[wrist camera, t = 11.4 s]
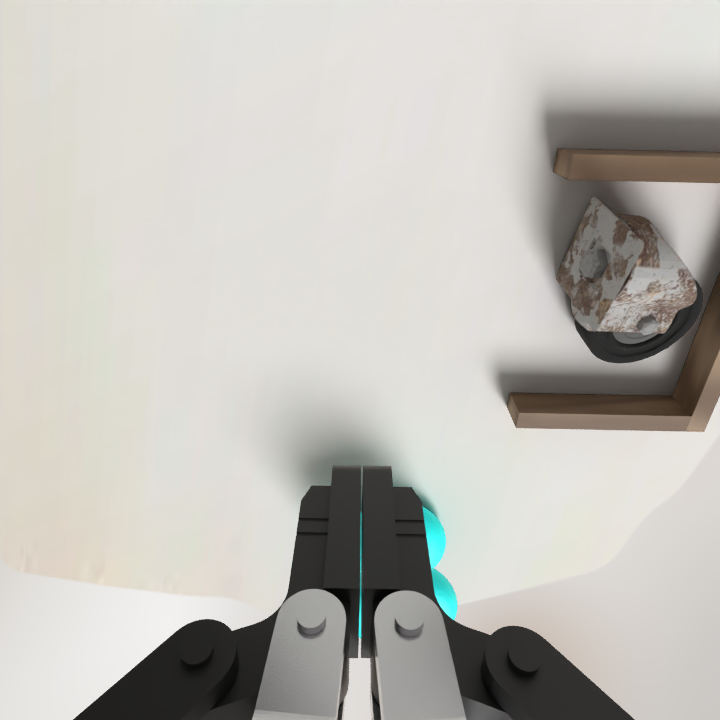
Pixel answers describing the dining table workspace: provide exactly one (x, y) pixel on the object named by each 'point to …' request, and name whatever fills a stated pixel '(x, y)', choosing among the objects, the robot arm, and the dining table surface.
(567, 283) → the caster wheel
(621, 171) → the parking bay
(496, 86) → the dining table surface
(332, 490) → the robot arm
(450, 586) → the donuts
